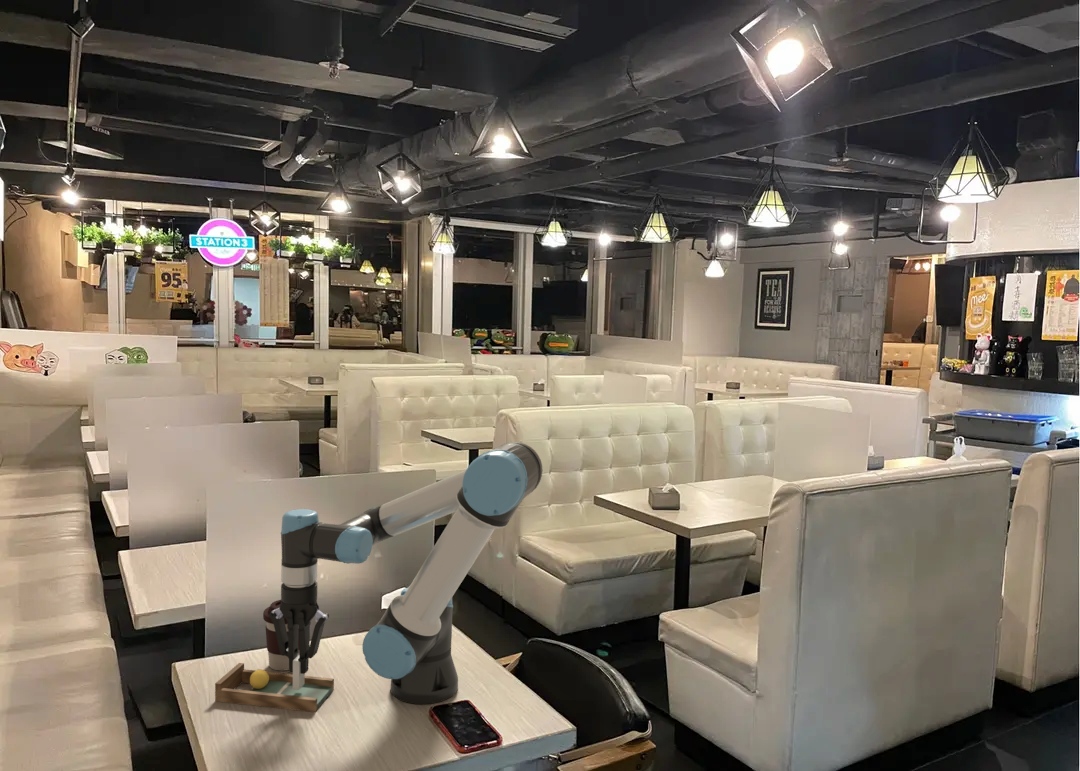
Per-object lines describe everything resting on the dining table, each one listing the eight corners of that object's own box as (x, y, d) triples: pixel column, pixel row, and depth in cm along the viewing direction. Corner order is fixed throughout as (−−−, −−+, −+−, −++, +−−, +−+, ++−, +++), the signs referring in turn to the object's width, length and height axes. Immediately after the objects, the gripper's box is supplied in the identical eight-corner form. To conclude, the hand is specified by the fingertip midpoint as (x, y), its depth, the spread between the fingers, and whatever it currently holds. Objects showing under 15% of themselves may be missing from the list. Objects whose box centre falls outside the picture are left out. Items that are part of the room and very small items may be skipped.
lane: (333, 689, 176) (333, 672, 176) (315, 712, 166) (315, 694, 166) (239, 679, 179) (239, 662, 179) (215, 701, 169) (215, 683, 169)
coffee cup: (275, 653, 193) (275, 594, 192) (313, 657, 192) (314, 598, 190) (255, 671, 183) (255, 609, 182) (295, 676, 182) (296, 613, 181)
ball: (270, 685, 175) (274, 669, 175) (261, 694, 171) (265, 678, 171) (253, 680, 176) (257, 663, 175) (244, 688, 172) (248, 672, 171)
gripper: (335, 578, 172) (333, 681, 175) (278, 573, 174) (278, 675, 176) (321, 590, 165) (319, 697, 167) (262, 585, 167) (262, 691, 169)
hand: (298, 686), depth 172 cm, fingers closed
